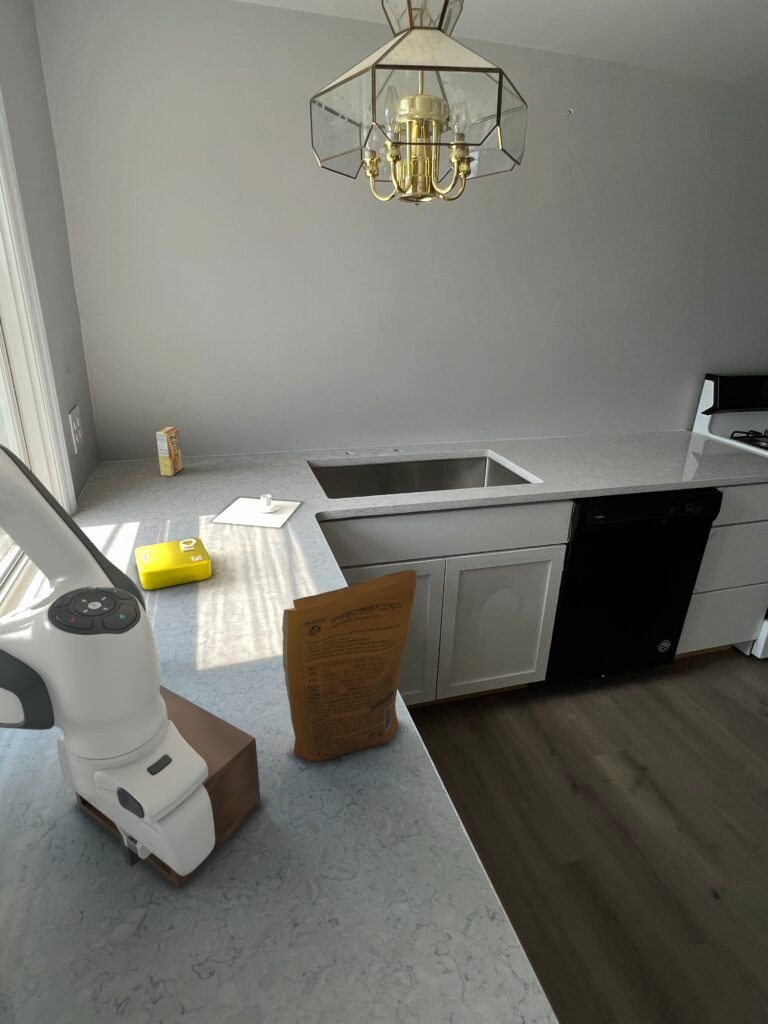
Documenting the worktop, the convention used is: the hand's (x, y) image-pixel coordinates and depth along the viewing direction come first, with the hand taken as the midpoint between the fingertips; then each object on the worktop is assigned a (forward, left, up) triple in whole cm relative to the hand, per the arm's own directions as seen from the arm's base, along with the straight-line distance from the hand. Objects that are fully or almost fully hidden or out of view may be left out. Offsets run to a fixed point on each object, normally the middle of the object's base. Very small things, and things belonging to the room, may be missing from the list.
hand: (141, 847), depth 59 cm
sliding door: (-2, +5, -6) cm, 8 cm away
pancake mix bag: (+25, +16, -7) cm, 31 cm away
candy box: (-15, +154, -7) cm, 155 cm away
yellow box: (-6, +77, -7) cm, 78 cm away
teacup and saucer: (+14, +111, -7) cm, 113 cm away
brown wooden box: (+1, +11, -7) cm, 13 cm away
